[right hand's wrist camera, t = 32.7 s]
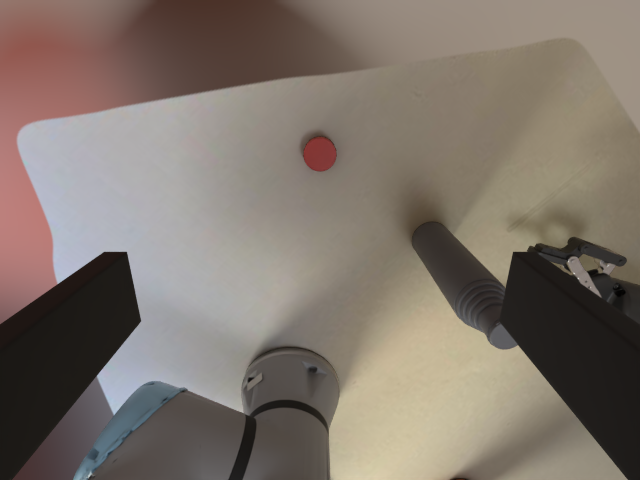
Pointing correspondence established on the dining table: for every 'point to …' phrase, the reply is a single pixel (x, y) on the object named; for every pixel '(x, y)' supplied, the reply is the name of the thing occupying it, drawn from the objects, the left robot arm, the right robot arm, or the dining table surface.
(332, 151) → the cap
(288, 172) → the dining table surface
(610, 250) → the left robot arm
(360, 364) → the dining table surface
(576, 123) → the dining table surface
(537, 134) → the dining table surface
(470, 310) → the bottle
